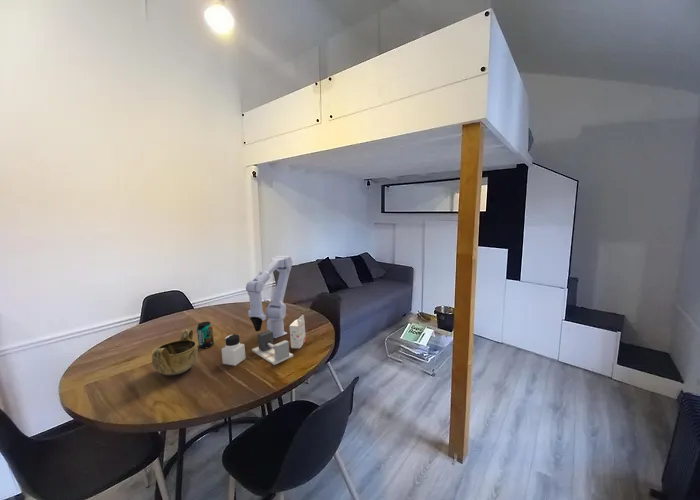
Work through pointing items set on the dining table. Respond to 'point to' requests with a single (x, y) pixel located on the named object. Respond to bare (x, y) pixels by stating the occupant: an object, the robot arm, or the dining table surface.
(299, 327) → the ink cartridge box
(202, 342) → the beverage can
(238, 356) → the medicine bottle
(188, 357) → the ceramic bowl
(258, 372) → the dining table surface
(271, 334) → the grey square sleeve
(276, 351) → the pipe stand
